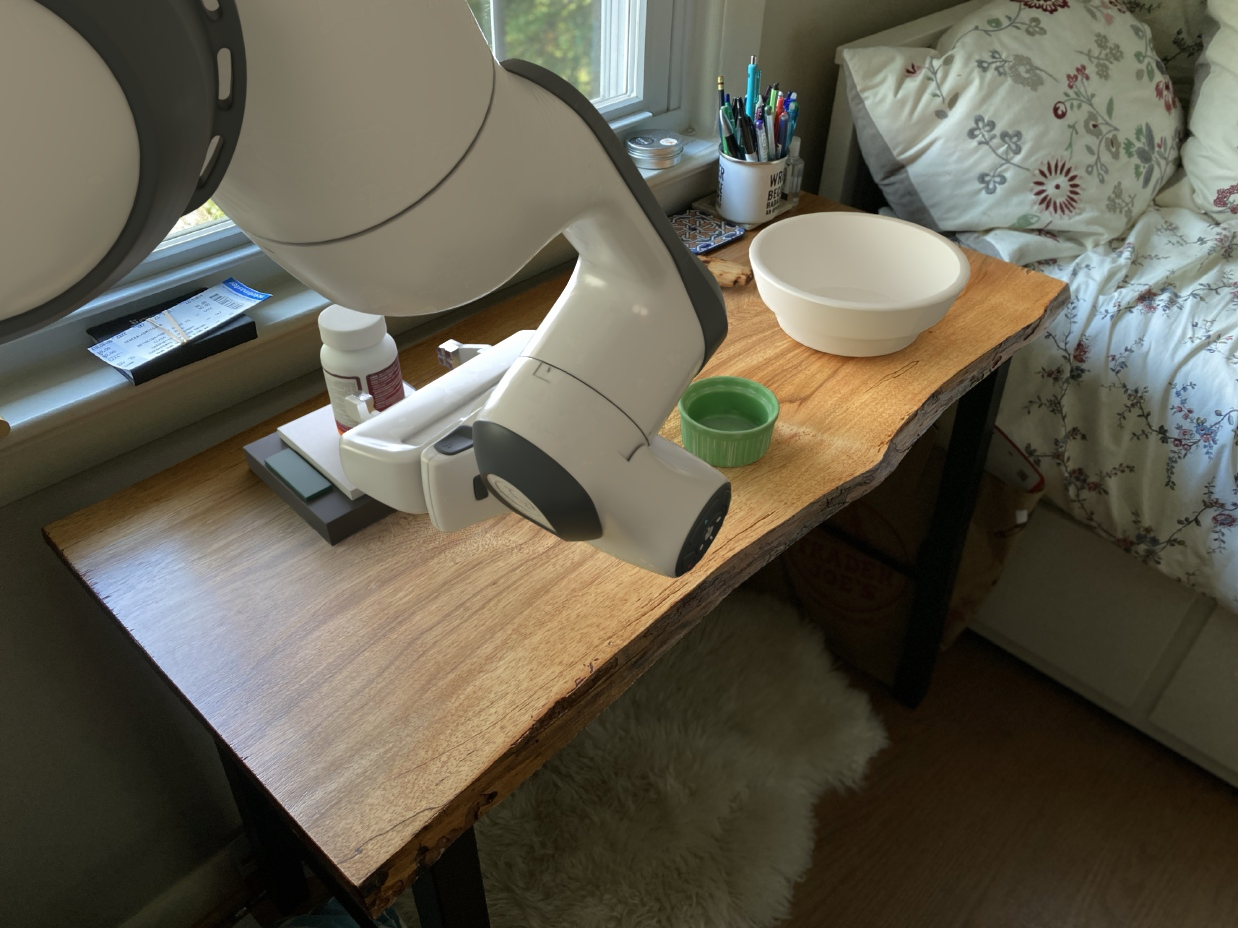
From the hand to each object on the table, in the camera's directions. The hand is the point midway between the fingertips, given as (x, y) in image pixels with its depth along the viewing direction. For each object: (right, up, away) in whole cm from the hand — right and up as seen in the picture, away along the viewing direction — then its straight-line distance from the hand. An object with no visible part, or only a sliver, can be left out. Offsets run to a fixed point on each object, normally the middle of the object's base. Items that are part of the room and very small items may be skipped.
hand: (399, 375), depth 74 cm
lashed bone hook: (+24, +14, +35) cm, 45 cm away
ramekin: (+27, -5, +11) cm, 30 cm away
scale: (-5, -7, +9) cm, 12 cm away
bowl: (+42, +8, +28) cm, 51 cm away
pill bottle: (-4, -4, +7) cm, 9 cm away
